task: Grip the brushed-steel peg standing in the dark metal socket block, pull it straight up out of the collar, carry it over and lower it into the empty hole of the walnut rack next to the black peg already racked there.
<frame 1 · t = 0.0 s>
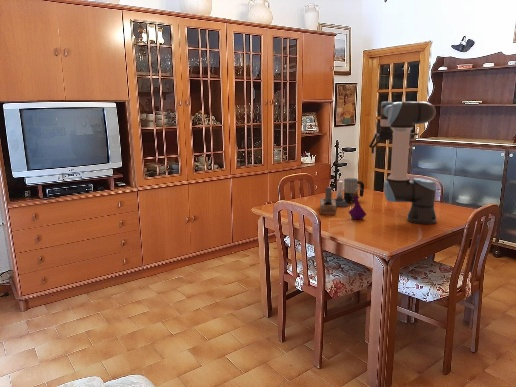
hand: (384, 158, 267), 28 cm above the table, tool pointing down, fingers open, 13 cm apart
steel peg: (339, 202, 260), point 1 cm above the table, touching socket block
perfume bottle: (357, 218, 229), on the table
milk frother: (349, 199, 274), on the table
socket block: (339, 204, 260), on the table
black peg: (328, 210, 242), point 1 cm above the table, touching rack
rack: (327, 210, 247), on the table
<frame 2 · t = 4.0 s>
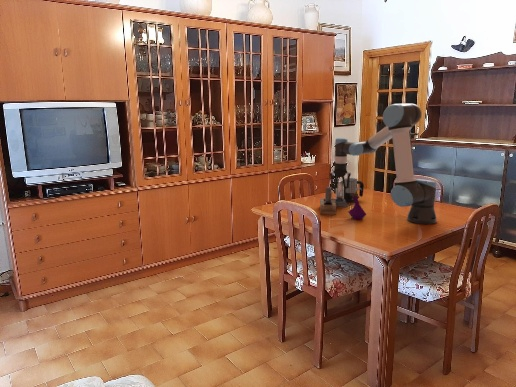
hand: (339, 198, 259), 4 cm above the table, tool pointing down, fingers closed on steel peg, 4 cm apart
steel peg: (339, 202, 260), point 2 cm above the table, touching gripper, socket block
everything else where it was.
when the fingers open (7 cm above the table, at t = 9.0 s): steel peg drops 2 cm, resting on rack.
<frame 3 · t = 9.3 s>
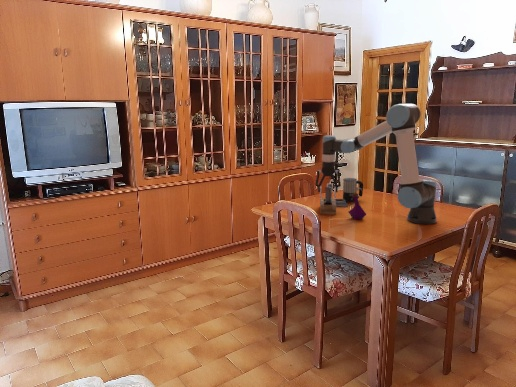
hand: (327, 197, 250), 7 cm above the table, tool pointing down, fingers open, 8 cm apart
steel peg: (327, 205, 251), point 2 cm above the table, tilted 9°, touching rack
everything else where it was.
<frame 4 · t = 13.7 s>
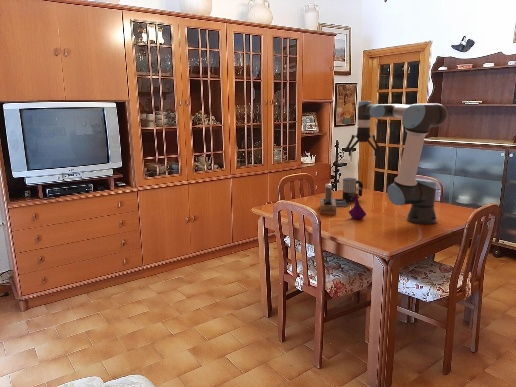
hand: (362, 161, 250), 29 cm above the table, tool pointing down, fingers open, 13 cm apart
steel peg: (327, 206, 251), point 2 cm above the table, touching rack
at the end: steel peg 0.1 cm from the target spot on the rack, point 1.5 cm above the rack's base; steel peg tilted 1°; the gripper is holding nothing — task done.
